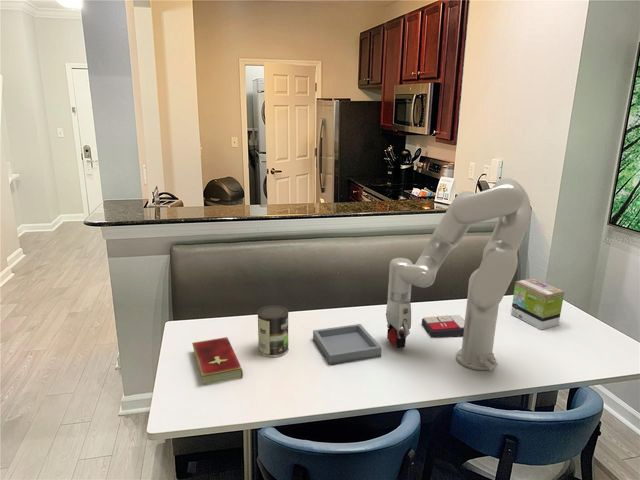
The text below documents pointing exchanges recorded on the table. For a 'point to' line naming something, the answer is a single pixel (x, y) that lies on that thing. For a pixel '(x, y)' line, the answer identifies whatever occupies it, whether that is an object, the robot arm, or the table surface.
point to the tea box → (537, 303)
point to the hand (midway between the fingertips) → (395, 342)
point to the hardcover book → (217, 361)
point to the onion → (393, 336)
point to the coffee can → (273, 331)
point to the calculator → (444, 326)
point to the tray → (346, 344)
